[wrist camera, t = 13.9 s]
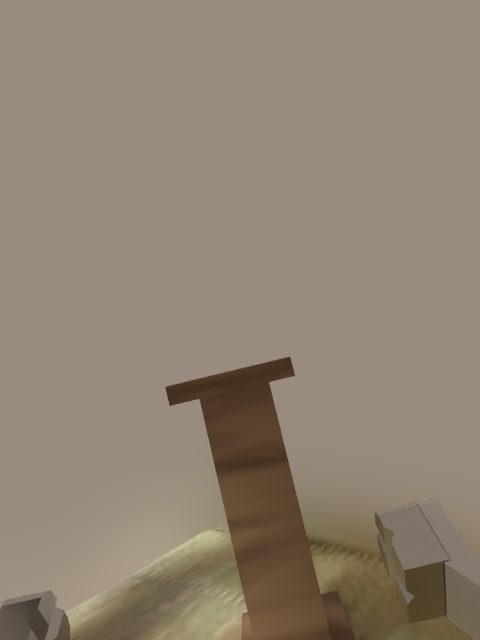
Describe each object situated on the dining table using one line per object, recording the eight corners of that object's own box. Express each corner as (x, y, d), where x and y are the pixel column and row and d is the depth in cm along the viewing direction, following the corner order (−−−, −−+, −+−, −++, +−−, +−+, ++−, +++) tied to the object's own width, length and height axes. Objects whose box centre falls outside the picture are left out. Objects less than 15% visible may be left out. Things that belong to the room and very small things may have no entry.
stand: (378, 709, 32) (290, 356, 35) (243, 741, 33) (165, 386, 35) (340, 605, 46) (279, 359, 49) (246, 628, 46) (190, 380, 49)
